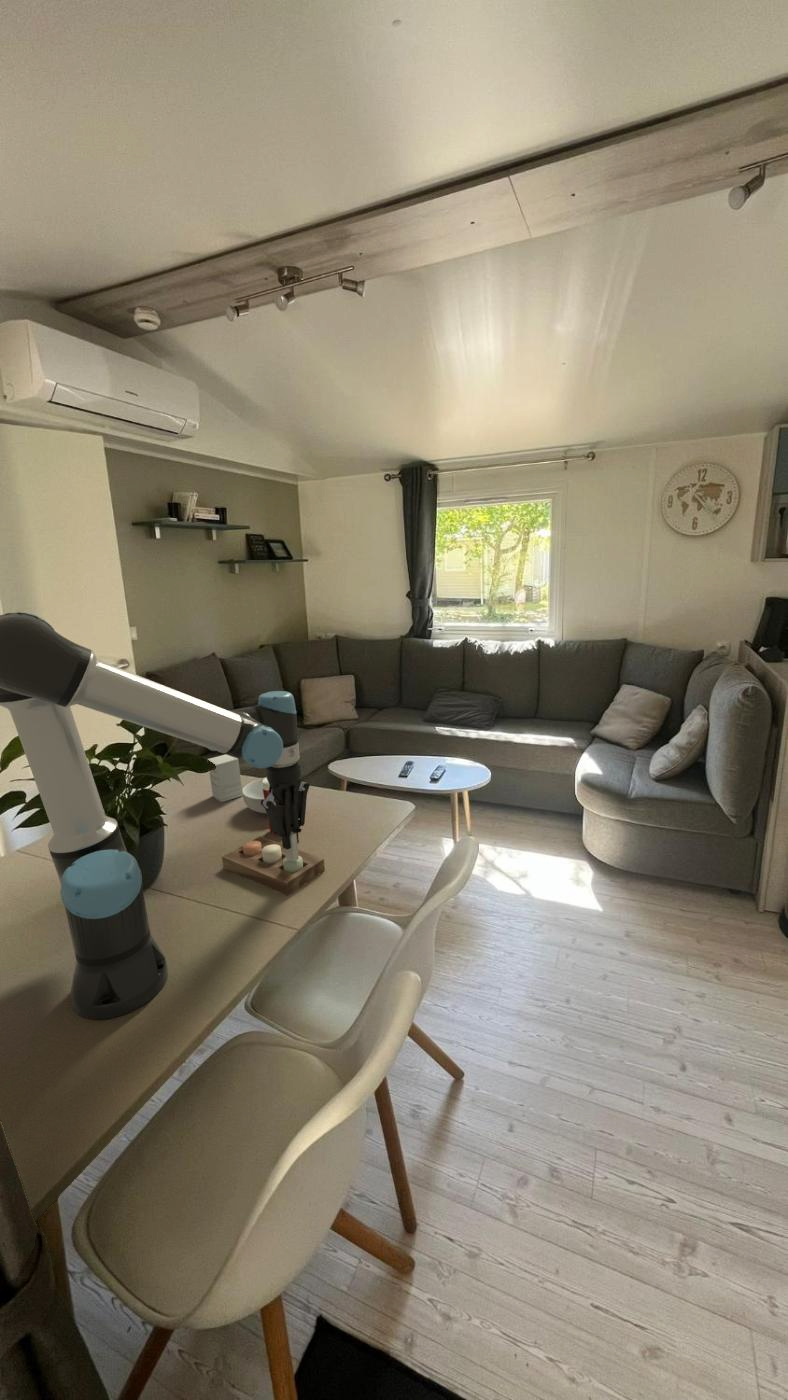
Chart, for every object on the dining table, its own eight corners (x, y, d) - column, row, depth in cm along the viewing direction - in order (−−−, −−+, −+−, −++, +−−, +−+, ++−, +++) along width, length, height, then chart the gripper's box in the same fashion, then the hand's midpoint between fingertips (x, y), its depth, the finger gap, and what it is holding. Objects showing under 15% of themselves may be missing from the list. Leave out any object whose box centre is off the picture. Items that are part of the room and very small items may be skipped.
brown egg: (252, 864, 135) (250, 851, 134) (240, 859, 137) (238, 846, 136) (266, 856, 138) (264, 843, 137) (254, 852, 141) (252, 839, 140)
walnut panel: (287, 895, 123) (286, 883, 122) (223, 868, 136) (221, 856, 135) (324, 870, 132) (323, 858, 132) (261, 846, 145) (260, 836, 144)
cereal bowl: (232, 812, 166) (229, 790, 165) (275, 792, 179) (273, 772, 177) (271, 826, 156) (268, 802, 154) (313, 804, 169) (311, 782, 167)
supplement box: (234, 789, 183) (229, 752, 180) (243, 796, 178) (238, 758, 175) (211, 796, 179) (206, 758, 176) (220, 803, 173) (215, 764, 170)
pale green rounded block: (294, 881, 127) (292, 867, 126) (280, 876, 129) (278, 862, 128) (307, 872, 130) (306, 858, 129) (294, 867, 133) (292, 853, 132)
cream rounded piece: (272, 869, 131) (270, 855, 130) (259, 864, 133) (257, 850, 132) (286, 861, 134) (284, 847, 133) (273, 856, 136) (271, 842, 136)
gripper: (272, 774, 116) (282, 876, 121) (315, 755, 126) (323, 850, 132) (248, 768, 120) (259, 867, 126) (292, 750, 130) (300, 843, 136)
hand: (292, 858), depth 129 cm, fingers closed
